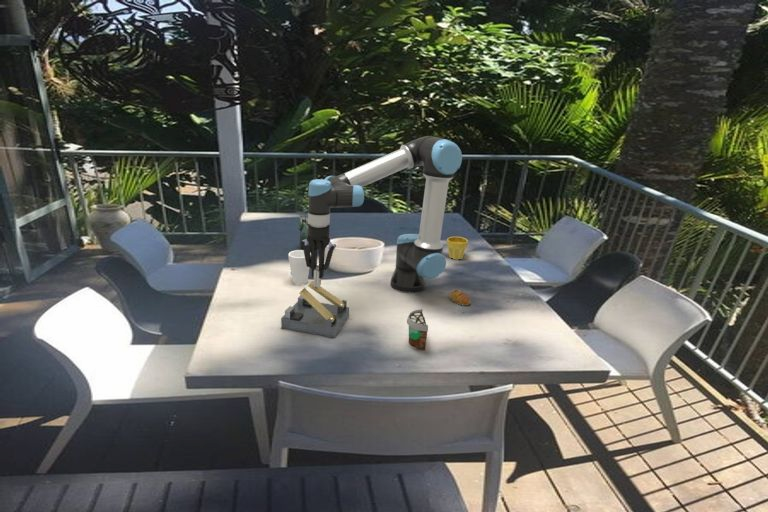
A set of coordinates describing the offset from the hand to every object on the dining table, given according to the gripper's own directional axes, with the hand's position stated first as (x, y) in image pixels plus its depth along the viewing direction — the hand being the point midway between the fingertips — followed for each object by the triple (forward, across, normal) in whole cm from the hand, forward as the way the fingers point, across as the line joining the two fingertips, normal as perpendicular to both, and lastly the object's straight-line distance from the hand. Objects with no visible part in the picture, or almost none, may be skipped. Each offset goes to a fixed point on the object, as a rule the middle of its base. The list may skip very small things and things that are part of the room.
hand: (317, 285), depth 178 cm
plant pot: (+11, -43, -81) cm, 92 cm away
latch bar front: (+3, -4, +11) cm, 12 cm away
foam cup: (+13, +18, -26) cm, 34 cm away
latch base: (+12, -2, +5) cm, 13 cm away
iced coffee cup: (+12, -39, +7) cm, 41 cm away
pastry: (+11, -50, -32) cm, 61 cm away
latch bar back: (+4, -3, 0) cm, 5 cm away
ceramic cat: (+13, +28, -59) cm, 66 cm away
